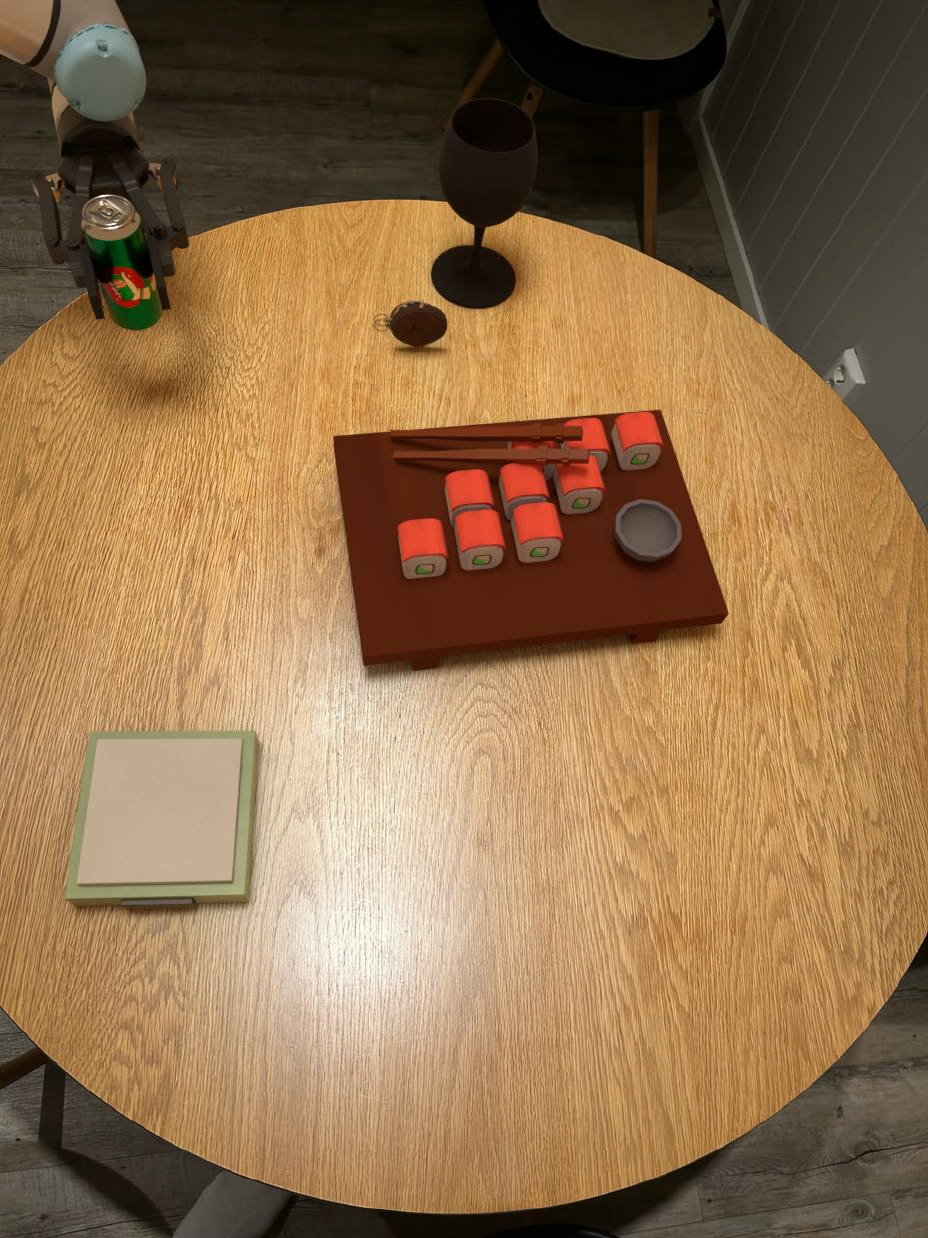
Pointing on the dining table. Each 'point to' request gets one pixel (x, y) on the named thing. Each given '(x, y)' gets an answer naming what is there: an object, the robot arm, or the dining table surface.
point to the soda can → (122, 261)
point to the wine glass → (483, 195)
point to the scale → (164, 819)
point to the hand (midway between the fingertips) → (130, 302)
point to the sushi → (520, 536)
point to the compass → (417, 322)
